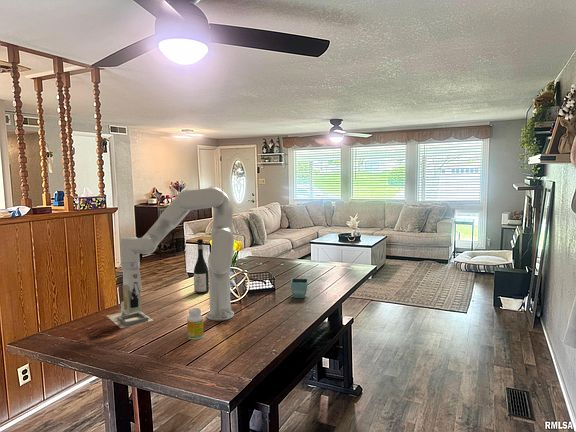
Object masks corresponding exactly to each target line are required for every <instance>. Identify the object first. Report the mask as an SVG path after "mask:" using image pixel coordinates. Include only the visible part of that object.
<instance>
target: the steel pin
mask: <svg viewBox="0 0 576 432" xmlns="http://www.w3.org/2000/svg"><path fill="white" fill-rule="evenodd" d="M120 306H121V307H120V308H121V309H120V311H121V312H122V316H124V315H128V314H127V313H125V312H124V300H123V301H121V302H120Z"/></svg>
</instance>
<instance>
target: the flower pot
mask: <svg viewBox="0 0 576 432" xmlns="http://www.w3.org/2000/svg"><path fill="white" fill-rule="evenodd" d="M308 282H309V279H308V278H292V279H291V281H290V289H291V294H292V296H293V298H295V299H305V297H306V295H307V291H308Z"/></svg>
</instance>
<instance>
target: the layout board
mask: <svg viewBox="0 0 576 432" xmlns="http://www.w3.org/2000/svg"><path fill="white" fill-rule="evenodd" d="M106 317H107V318H108V319H109V320H110V321H112V322H113V324H115V325H116V326H118V327H119V328H120V329H123V328H127V327H132V326H136V325H140V324H144V323H148V322H152V321H153V319H152V318H151V317H149V316H148V315H146V314H145V313H144V312H142V310H141V311H138V312H134V313H131V314H128V315H124V316H122V311H121V312H118V313H117V312H115V313H112V314H109V315H108V314H107V315H106Z"/></svg>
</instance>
